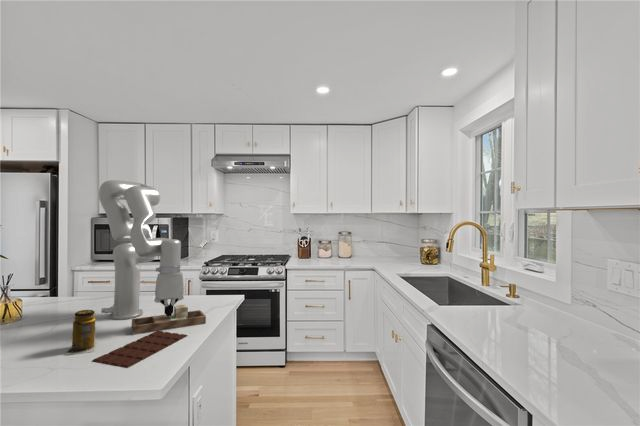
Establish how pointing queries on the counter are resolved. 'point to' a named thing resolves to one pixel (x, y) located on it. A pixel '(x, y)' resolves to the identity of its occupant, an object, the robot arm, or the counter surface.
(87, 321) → the condiment
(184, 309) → the block
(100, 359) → the chocolate bar
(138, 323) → the box
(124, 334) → the counter surface
